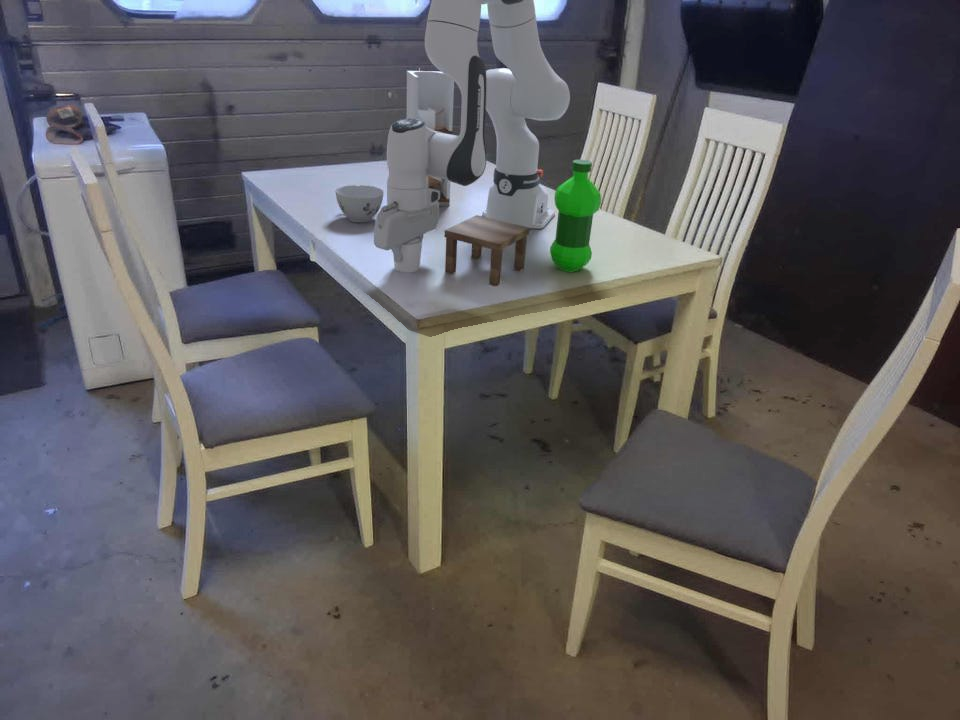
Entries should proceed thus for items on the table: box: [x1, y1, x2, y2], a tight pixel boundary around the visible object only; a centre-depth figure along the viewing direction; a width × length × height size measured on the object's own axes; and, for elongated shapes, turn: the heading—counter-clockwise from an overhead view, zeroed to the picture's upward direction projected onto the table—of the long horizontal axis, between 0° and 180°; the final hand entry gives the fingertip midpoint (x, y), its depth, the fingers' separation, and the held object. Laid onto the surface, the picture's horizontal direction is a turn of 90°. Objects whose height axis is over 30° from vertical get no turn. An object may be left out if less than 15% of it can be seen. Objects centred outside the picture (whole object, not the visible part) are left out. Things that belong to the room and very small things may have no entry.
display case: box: [406, 70, 455, 207], centre depth 201 cm, size 11×11×35 cm
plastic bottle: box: [549, 159, 602, 273], centre depth 163 cm, size 10×10×25 cm
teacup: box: [335, 184, 385, 223], centre depth 190 cm, size 15×12×8 cm
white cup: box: [392, 236, 423, 274], centre depth 161 cm, size 7×7×7 cm
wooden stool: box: [444, 214, 530, 287], centre depth 162 cm, size 14×14×10 cm
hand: (407, 257), depth 162 cm, fingers closed on white cup, 5 cm apart
